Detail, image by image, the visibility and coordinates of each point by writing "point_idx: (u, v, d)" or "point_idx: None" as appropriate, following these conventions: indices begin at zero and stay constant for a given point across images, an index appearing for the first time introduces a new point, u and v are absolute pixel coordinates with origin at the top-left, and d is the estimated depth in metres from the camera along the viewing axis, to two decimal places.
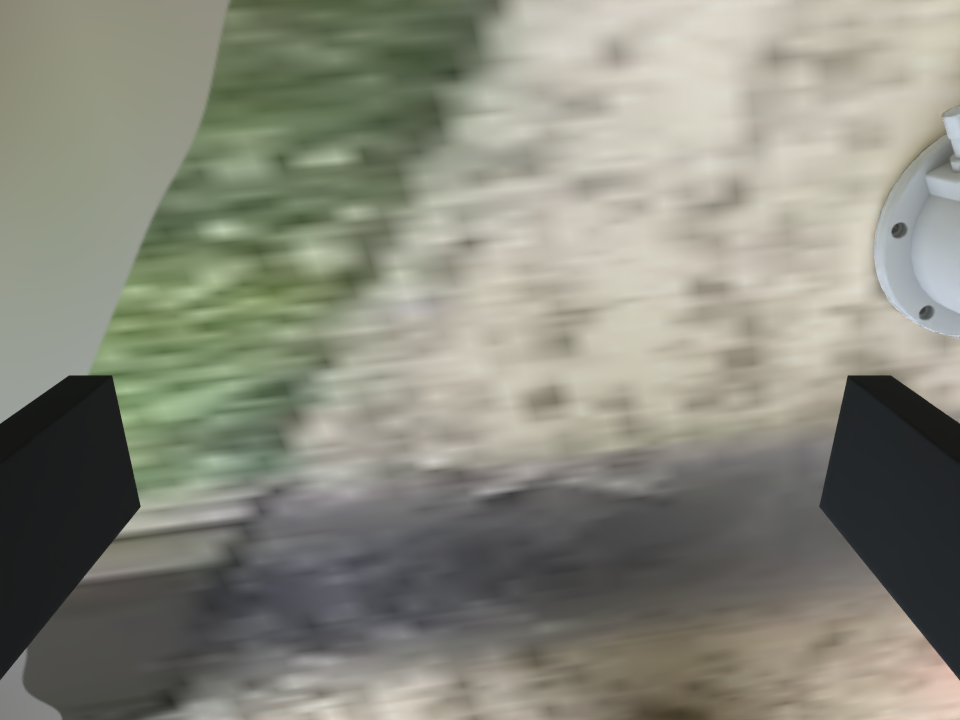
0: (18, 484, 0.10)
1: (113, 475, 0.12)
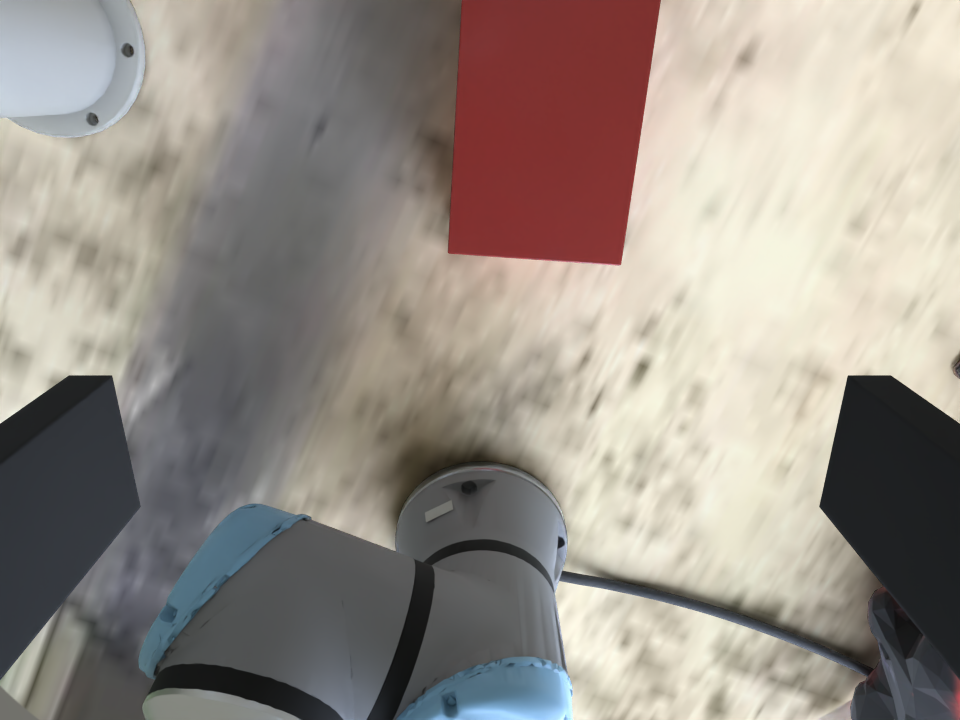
0: (18, 484, 0.10)
1: (112, 476, 0.12)
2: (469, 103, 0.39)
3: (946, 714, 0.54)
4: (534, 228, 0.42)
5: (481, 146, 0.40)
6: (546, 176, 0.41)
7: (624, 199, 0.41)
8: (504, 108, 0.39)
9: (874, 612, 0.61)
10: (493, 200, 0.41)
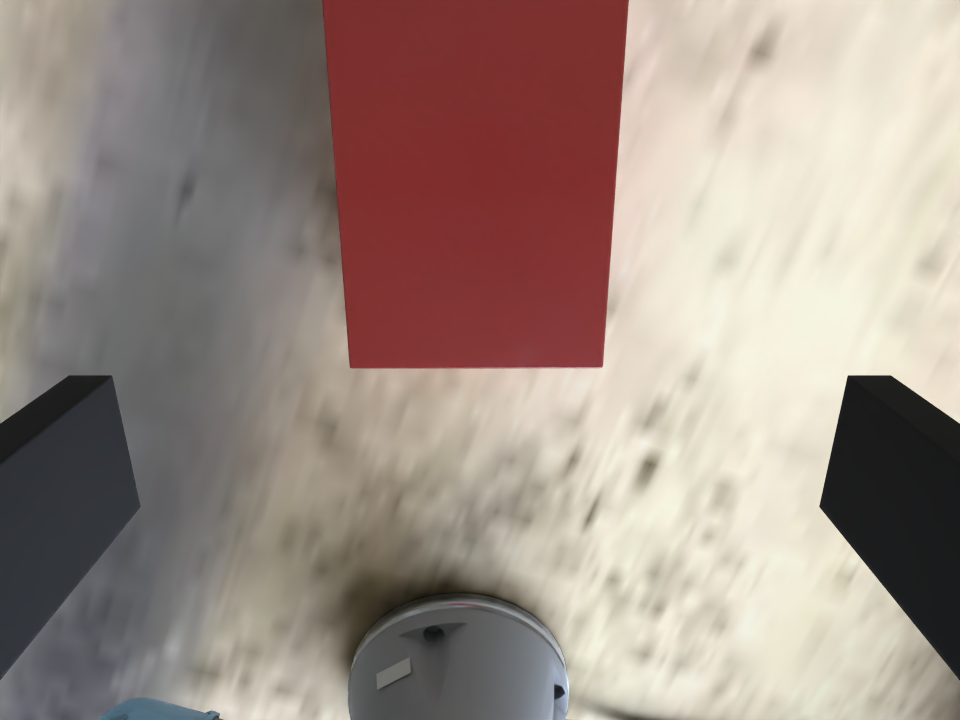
0: (18, 484, 0.10)
1: (112, 476, 0.12)
2: (353, 154, 0.26)
3: None
4: (471, 325, 0.29)
5: (379, 215, 0.27)
6: (480, 251, 0.27)
7: (599, 276, 0.28)
8: (407, 158, 0.26)
9: None
10: (407, 291, 0.28)
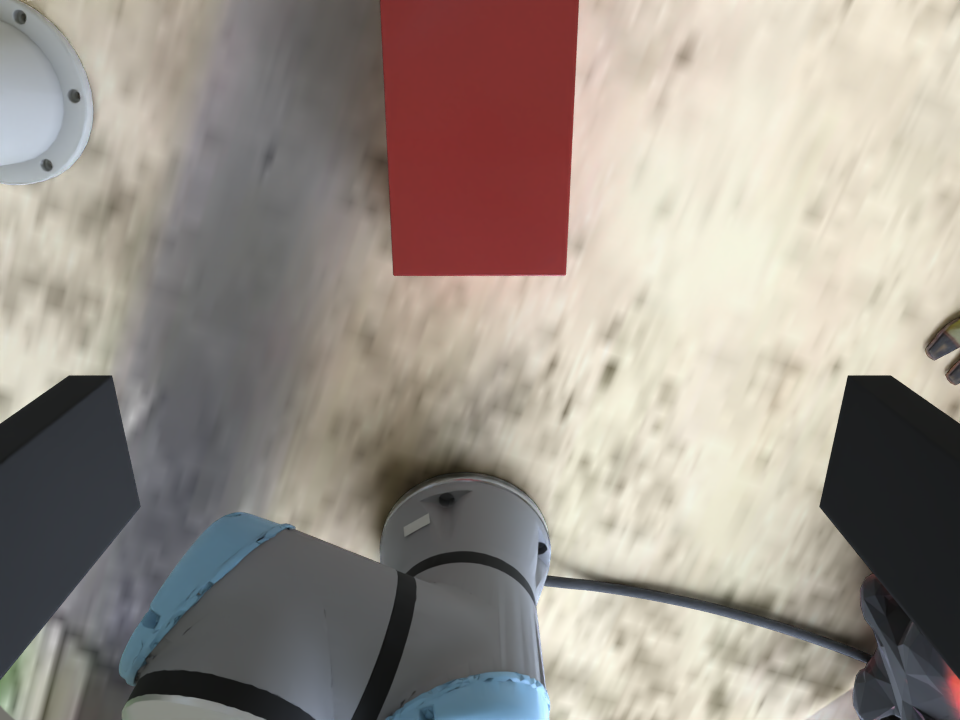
0: (18, 484, 0.10)
1: (113, 475, 0.12)
2: (399, 128, 0.40)
3: (940, 699, 0.54)
4: (476, 245, 0.42)
5: (415, 168, 0.40)
6: (482, 193, 0.41)
7: (562, 210, 0.41)
8: (434, 130, 0.40)
9: (865, 599, 0.60)
10: (432, 221, 0.42)
